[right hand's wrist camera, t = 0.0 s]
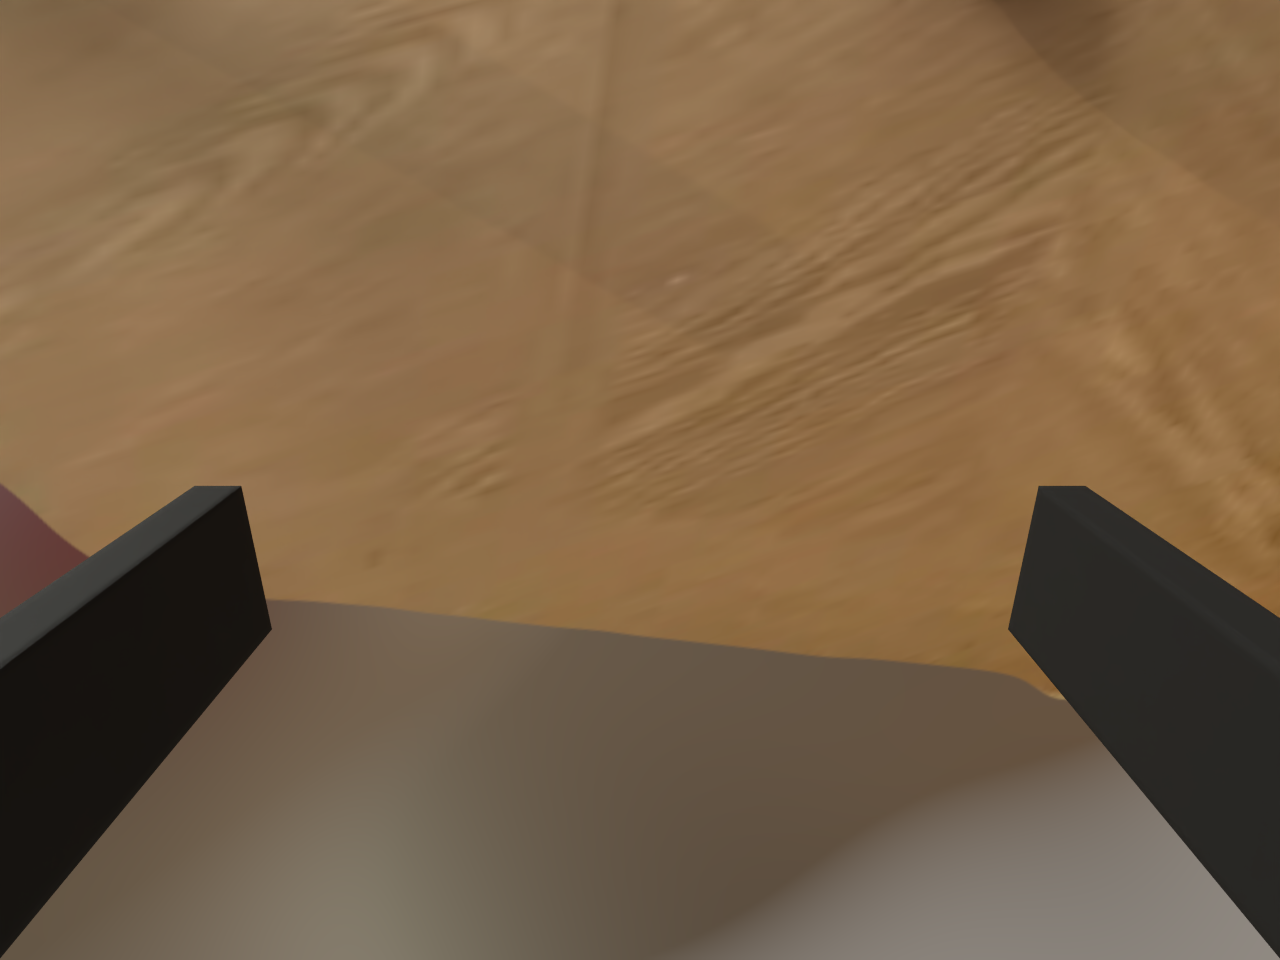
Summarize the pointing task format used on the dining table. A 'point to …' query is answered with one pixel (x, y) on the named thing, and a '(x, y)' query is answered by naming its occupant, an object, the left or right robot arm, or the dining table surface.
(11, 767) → the right robot arm
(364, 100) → the dining table surface
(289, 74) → the dining table surface
